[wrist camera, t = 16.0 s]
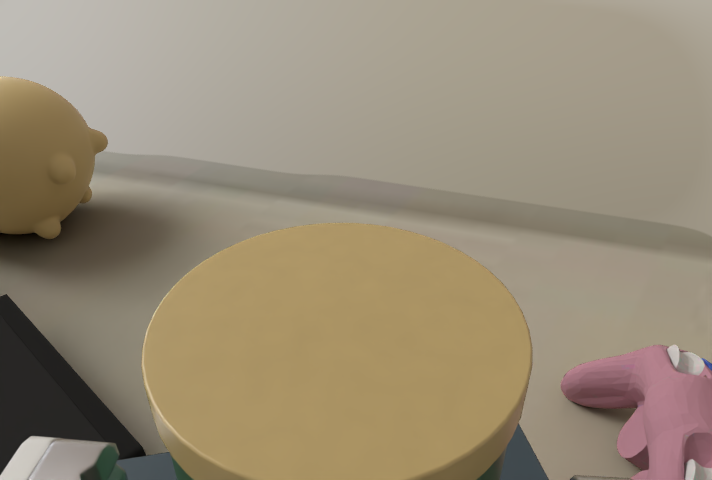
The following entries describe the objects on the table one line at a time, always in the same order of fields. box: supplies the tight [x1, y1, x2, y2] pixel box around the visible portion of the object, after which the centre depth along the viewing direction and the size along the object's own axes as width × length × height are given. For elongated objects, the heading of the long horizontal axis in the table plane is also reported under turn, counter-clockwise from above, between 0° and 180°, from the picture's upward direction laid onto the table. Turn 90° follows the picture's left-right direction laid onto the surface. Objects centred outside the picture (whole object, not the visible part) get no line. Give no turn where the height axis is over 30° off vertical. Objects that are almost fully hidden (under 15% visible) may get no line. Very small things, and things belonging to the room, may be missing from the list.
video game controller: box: [561, 345, 712, 480], centre depth 23 cm, size 10×5×7 cm, turn 160°
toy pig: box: [0, 77, 108, 239], centre depth 40 cm, size 10×12×11 cm
